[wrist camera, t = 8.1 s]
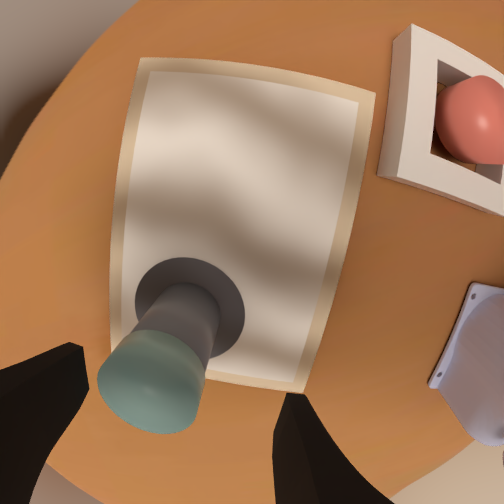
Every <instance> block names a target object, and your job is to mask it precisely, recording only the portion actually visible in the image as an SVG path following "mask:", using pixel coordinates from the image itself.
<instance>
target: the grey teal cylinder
mask: <svg viewBox="0 0 504 504" xmlns="http://www.w3.org/2000/svg"><path fill="white" fill-rule="evenodd" d="M219 323H220V308H219V305H218V303H217V301H216V299H215V298H214V297H213V296H212V294H211V293H210V292H208V291H207V290H206V289H204V288H203V287H201V286H199V285H196V284H193V283H187V282H182V283H176V284H173V285H171V286H169V287H168V288H166V289H165V290H164V291H163V292H162V294H161V295H160V296H159V297H158V298H157V300H156V301H155V302H154V303H153V305H152V306H151V307H150V308H149V310H148V311H147V312H146V313H145V315H144V316H143V317H142V318H141V320H140V321H139V322H138V324H137V325H136V326H135V327H134V329H133V330H132V331H131V332H130V334H128V335H127V336H125V337H124V338H123V339H122V340H121V342H120V343H119V344H118V345H117V347H116V348H115V349H114V350H113V352H112V353H111V354H110V356H109V357H108V358H107V359H106V361H105V362H104V363H103V365H102V366H101V368H100V369H99V372H98V377H97V382H98V388H99V391H100V394H101V396H102V398H103V399H104V401H105V403H106V404H107V405H108V406H109V408H110V409H111V410H112V411H113V412H114V413H115V414H116V415H117V416H119V417H120V418H121V419H123V420H124V421H125V422H127V423H129V424H130V425H132V426H134V427H137V428H139V429H141V430H144V431H148V432H152V433H158V434H171V433H176V432H180V431H182V430H184V429H186V428H188V427H189V426H190V425H191V424H192V423H193V421H194V420H195V417H196V414H197V410H198V407H199V403H200V399H201V395H202V392H203V388H204V384H205V372H206V369H207V365H208V362H209V358H210V355H211V351H212V347H213V344H214V340H215V337H216V333H217V330H218V326H219Z"/></svg>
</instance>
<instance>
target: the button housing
mask: <svg viewBox="0 0 504 504" xmlns="http://www.w3.org/2000/svg"><path fill="white" fill-rule="evenodd" d="M478 75H484V76H488V77H490V78H492V79H494V80H495V81H497V82H498V83H499V84H500V85H501V86H502V87H503V88H504V75H503V74H501V73H500V72H499V71H497V70H496V69H494V68H493V67H491V66H490V65H488V64H487V63H485V62H483V61H482V60H480V59H479V58H477V57H475V56H474V55H472V54H470V53H469V52H467V51H465V50H464V49H462V48H460V47H458V46H456V45H455V44H453V43H451V42H449V41H447V40H445V39H443V38H441V37H439V36H437V35H435V34H433V33H431V32H429V31H427V30H425V29H423V28H420V27H418V26H416V25H414V24H410V25H409V26H408V27H407V28H406V29H405V30H404V31H403V32H402V33H401V34H400V35H399V36H398V37H397V38H395V39H394V40H393V50H392V64H391V76H390V87H389V96H388V105H387V113H386V120H385V127H384V134H383V141H382V147H381V153H380V159H379V165H378V170H377V176H380V177H383V178H387V179H390V180H393V181H397V182H400V183H403V184H407V185H410V186H413V187H416V188H419V189H422V190H425V191H428V192H431V193H434V194H437V195H440V196H443V197H446V198H449V199H452V200H454V201H457V202H460V203H462V204H465V205H468V206H470V207H473V208H476V209H478V210H481V211H483V212H486V213H490V214H493V215H497V216H501V217H504V164H503V165H498V164H477V165H476V172H473V171H471V170H469V169H466V168H464V167H462V166H459V165H457V164H455V163H452V162H450V161H448V160H445V159H443V158H440V157H438V156H435V155H433V154H430V151H431V143H432V135H433V126H434V116H435V105H436V90H437V82H439V83H441V84H443V85H445V86H447V87H449V86H451V85H454V84H456V83H459V82H461V81H464V80H466V79H469V78H472V77H474V76H478Z"/></svg>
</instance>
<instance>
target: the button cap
mask: <svg viewBox="0 0 504 504" xmlns="http://www.w3.org/2000/svg"><path fill="white" fill-rule="evenodd" d="M434 121H435V126H436V130H437V133H438V136H439V138H440V140H441V142H442V144H443V145H444V147H445V148H446V150H447V151H448V152H449V153H450V154H451V155H452V156H453V157H454V158H456V159H457V160H459V161H461V162H464V163H468V164H498V165H503V164H504V88H503V87H502V86H501V85H500V84H499V83H498V82H497V81H495V80H494V79H492V78H490V77H488V76H484V75H478V76H474V77H472V78H469V79H466V80H464V81H461V82H459V83H456V84H454V85H451V86H449V87H446V88H445V89H443V90H442V91H441V92H440V93H439V95H438V96H437V99H436V105H435V116H434Z"/></svg>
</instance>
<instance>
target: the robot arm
mask: <svg viewBox="0 0 504 504" xmlns="http://www.w3.org/2000/svg"><path fill="white" fill-rule="evenodd" d="M472 294H473V296H472ZM471 296H472V297H471ZM438 373H439V374H438ZM428 386H429V387H430V388H432V389H433V388H437V389H438V390H439V392H440V393H441V395H442V396H443V398H444V399H445V401H446V402H447V404H448V405H449V406H450V408H451V409H452V411H453V412H454V414H455V415H456V417H457V418H458V420H459V422H460V423H461V425H462V426H463V428H464V429H465V430H466V432H467V433H468V434H469V435H470V436H472V437H473V438H474V439H475V440H477V441H479V442H480V443H482V444H485V445H488V446H500V445H503V444H504V288H499V287H495V286H490V285H485V284H480V283H476V282H475V283H472V284H471V285H470V287H469V290H468V293H467V296H466V298H465V301H464V304H463V307H462V309H461V312H460V314H459V317H458V320H457V322H456V325H455V327H454V329H453V332H452V334H451V336H450V339H449V341H448V343H447V345H446V348H445V350H444V352H443V354H442V356H441V358H440V360H439V363H438V365H437V367H436V369H435V371H434V373H433V374H432V376H431V378H430V380H429V382H428ZM88 391H89V384H88V378H87V372H86V365H85V358H84V351H83V347H82V346H79V345H76V344H74V343H71V342H68V343H66V344H63V345H60V346H58V347H56V348H53V349H51V350H49V351H46V352H44V353H42V354H39V355H37V356H35V357H32V358H30V359H28V360H25V361H23V362H20V363H18V364H15V365H12V366H10V367H7V368H4V369H1V370H0V504H29V502H30V499H31V496H32V493H33V490H34V487H35V485H36V482H37V479H38V477H39V475H40V472H41V470H42V468H43V466H44V463H45V462H46V459H47V457H48V456H49V454H50V452H51V450H52V449H53V447H54V446H55V444H56V443H57V441H58V440H59V438H60V437H61V435H62V434H63V433H64V431H65V430H66V428H67V427H68V425H69V424H70V422H71V421H72V419H73V418H74V416H75V415H76V414H77V412H78V411H79V409H80V407H81V405H82V403H83V401H84V399H85V397H86V395H87V393H88ZM272 460H273V474H274V487H275V500H276V504H394V503H393V502H392V501H390V500H389V499H388V498H387V497H385V496H384V495H383V494H382V493H380V492H379V491H378V490H377V489H376V488H374V487H373V486H372V485H371V484H370V483H369V482H368V481H367V480H366V479H365V478H364V477H363V476H362V475H361V474H360V473H359V472H358V471H357V470H356V469H355V467H354V466H353V465H352V464H351V463H350V462H349V460H348V459H347V458H346V457H345V455H344V454H343V453H342V452H341V450H340V449H339V448H338V446H337V445H336V443H335V442H334V441H333V439H332V438H331V436H330V435H329V433H328V432H327V430H326V429H325V427H324V426H323V424H322V422H321V421H320V419H319V418H318V416H317V414H316V412H315V411H314V409H313V407H312V406H311V404H310V402H309V400H308V398H307V397H306V396H305V394H294V393H287V394H286V397H285V400H284V403H283V406H282V409H281V412H280V415H279V418H278V421H277V423H276V426H275V429H274V433H273V451H272ZM503 465H504V452H503Z"/></svg>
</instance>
